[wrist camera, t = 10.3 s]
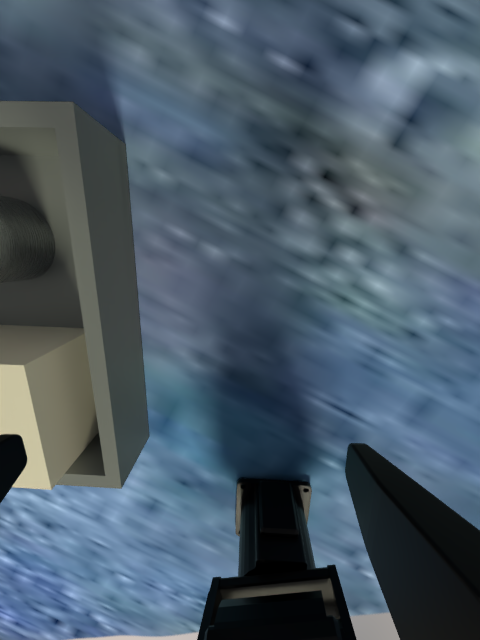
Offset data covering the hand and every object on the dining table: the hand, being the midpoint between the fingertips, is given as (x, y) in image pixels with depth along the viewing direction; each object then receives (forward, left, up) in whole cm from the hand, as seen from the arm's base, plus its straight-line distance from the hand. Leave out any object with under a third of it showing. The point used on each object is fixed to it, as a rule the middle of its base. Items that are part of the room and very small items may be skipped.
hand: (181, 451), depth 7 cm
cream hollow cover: (-5, +14, -12) cm, 19 cm away
